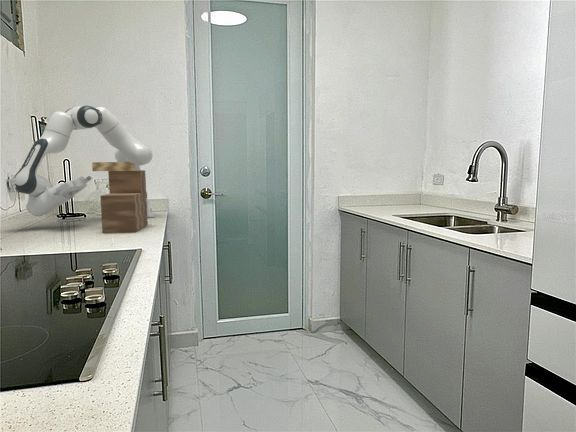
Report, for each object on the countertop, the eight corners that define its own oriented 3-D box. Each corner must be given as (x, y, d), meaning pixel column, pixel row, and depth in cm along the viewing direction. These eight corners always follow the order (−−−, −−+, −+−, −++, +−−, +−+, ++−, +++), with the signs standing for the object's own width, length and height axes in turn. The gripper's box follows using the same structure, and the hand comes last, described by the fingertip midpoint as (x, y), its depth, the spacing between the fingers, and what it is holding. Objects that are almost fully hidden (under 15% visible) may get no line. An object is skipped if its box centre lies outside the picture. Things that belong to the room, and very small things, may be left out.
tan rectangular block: (92, 171, 215) (91, 162, 214) (94, 171, 218) (94, 162, 217) (133, 170, 216) (132, 161, 216) (134, 170, 219) (134, 161, 219)
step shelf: (117, 225, 225) (114, 170, 222) (147, 225, 226) (145, 170, 223) (102, 233, 202) (99, 171, 199) (136, 232, 203) (133, 171, 200)
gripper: (47, 189, 206) (74, 172, 206) (65, 186, 226) (90, 171, 226) (55, 201, 207) (83, 184, 207) (73, 197, 227) (98, 182, 227)
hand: (87, 177), depth 216 cm, fingers open, 8 cm apart
